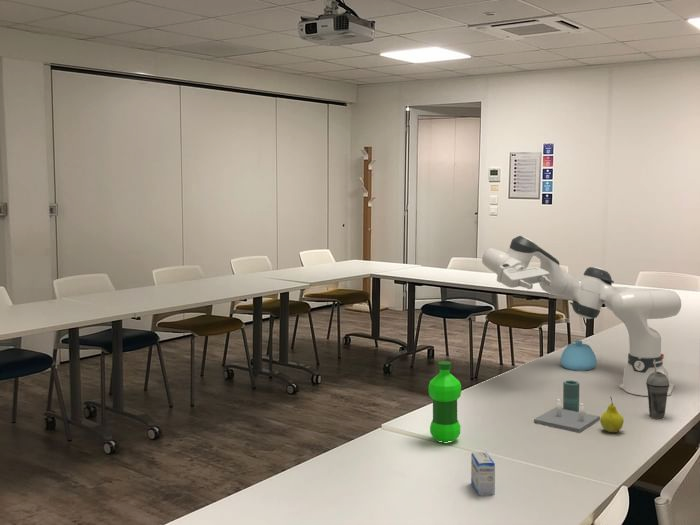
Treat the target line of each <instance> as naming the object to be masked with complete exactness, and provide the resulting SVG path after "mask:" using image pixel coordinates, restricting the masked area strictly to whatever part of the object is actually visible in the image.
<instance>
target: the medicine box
mask: <svg viewBox="0 0 700 525" xmlns="http://www.w3.org/2000/svg"><path fill="white" fill-rule="evenodd" d="M470 457H471V462H470V463H471V468H470V469H471V472H470V473H471V474H470V482H471V484H472V486H473V489H474V490H475V492H476V494H478V495H479V496H488V495H496V494H495V493H496V463H495V462H494V461H493V459H492V457H491V456H490V455H489V453H488V452H487V451H479V452H477V451H475V452H471V456H470Z"/></svg>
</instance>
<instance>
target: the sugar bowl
mask: <svg viewBox="0 0 700 525" xmlns="http://www.w3.org/2000/svg"><path fill="white" fill-rule="evenodd" d="M560 364H561V366H563V368H565V369H566V370H569V369H570V371H576V370H587V371H591V369H592V370H593V369H594V368H596V366H597V364H598V361H597V357H596V354H595V352H594V350H593V349H592V347H591V346H590V345H589V344H586V343H583V341H582V340H575V341H574V342H573V343H569V344H567V345H566V347H565V348H564V350H563V351H562V354H561V357H560Z"/></svg>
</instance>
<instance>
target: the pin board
mask: <svg viewBox="0 0 700 525" xmlns="http://www.w3.org/2000/svg"><path fill="white" fill-rule="evenodd" d="M555 402H556V403H555V405H556V406H555V407H554V408H552V409H549V410H548V411H545V413H543V414H541V415H539V416H538V417H536V418H534V419H533V423H534V424H538V425H541V426H542V425H543V426H546V427H547V426H548V427H552V428H553V427H554V428H557V429H562V430H564V431H565V430H566V431H569V432H576V433H579V434H580V433H582V432H583V431H585V430H587V429H588V428H589V427H591V426H592V425H594V424H596V423H597V422H598V421H600V419H601V416H600V415H596V414H595V415H594V414H592V413H591V414H589V413H585V404H584V403H582V402H579V411H578V412H575V411H570V410H565V409H563V408H562V400H561V399H560V398H557V399H556V400H555Z"/></svg>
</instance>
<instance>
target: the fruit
mask: <svg viewBox="0 0 700 525" xmlns="http://www.w3.org/2000/svg"><path fill="white" fill-rule="evenodd" d="M609 398H610V401H611V404H609V405H608V406H607V410H606V411H604V412H603V413H602V415H601V416H600V420H599V421H600V426H602V428H603V429H604V430H605V431H606V432H608V433H610V434H615V433H617V432H619V431H621V429H622V428H623V425H624V417H623V416H622V414H621V413H620V412H618V411H617V407H616V406H615V404H613V399H612V396H610V397H609Z"/></svg>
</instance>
